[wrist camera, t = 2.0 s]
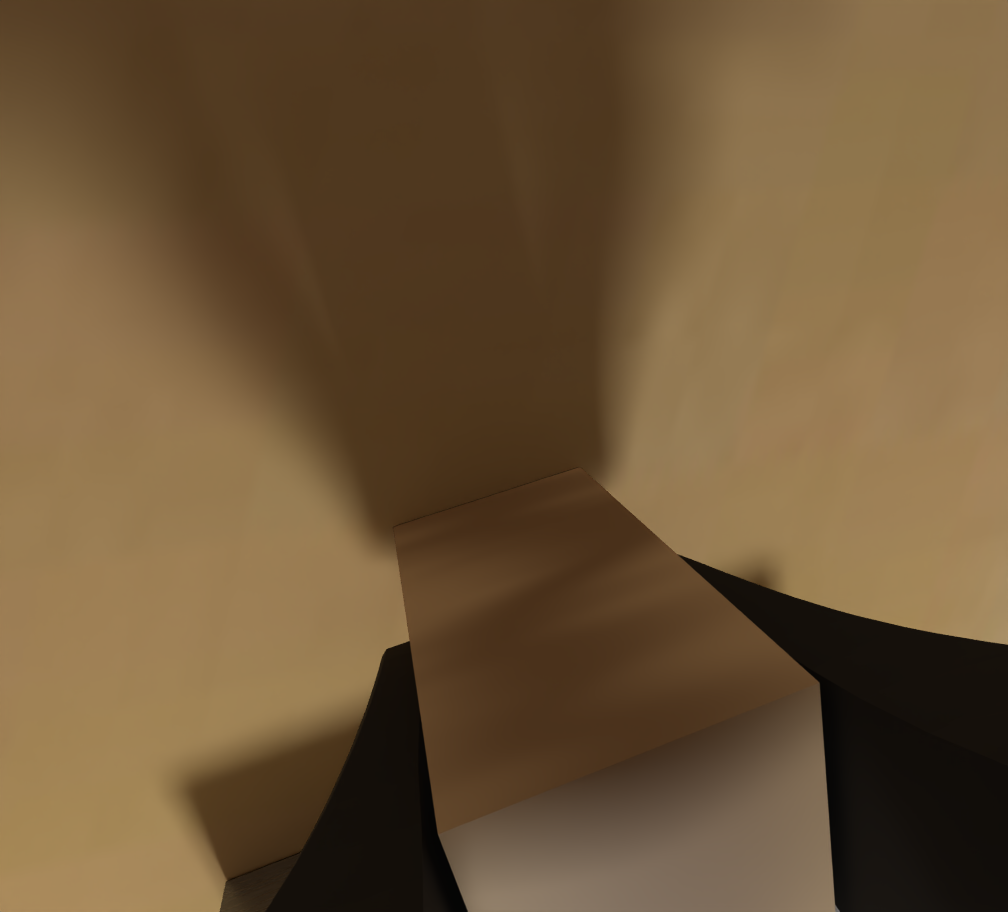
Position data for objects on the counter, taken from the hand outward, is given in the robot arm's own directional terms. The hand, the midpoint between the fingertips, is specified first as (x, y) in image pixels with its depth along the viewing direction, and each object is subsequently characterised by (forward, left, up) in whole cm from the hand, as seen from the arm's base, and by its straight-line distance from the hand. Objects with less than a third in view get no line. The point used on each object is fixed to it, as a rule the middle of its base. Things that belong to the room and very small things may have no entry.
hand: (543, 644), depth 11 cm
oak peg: (0, 0, -2) cm, 2 cm away
